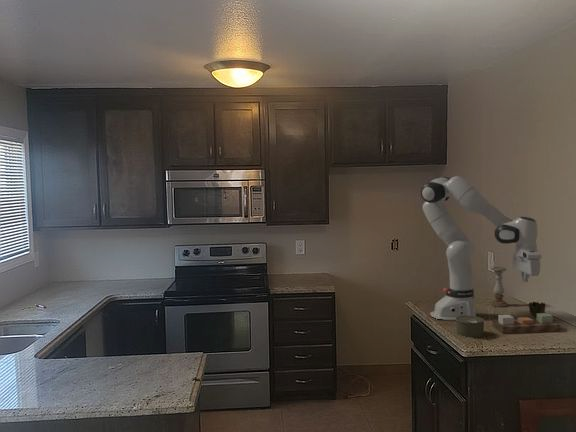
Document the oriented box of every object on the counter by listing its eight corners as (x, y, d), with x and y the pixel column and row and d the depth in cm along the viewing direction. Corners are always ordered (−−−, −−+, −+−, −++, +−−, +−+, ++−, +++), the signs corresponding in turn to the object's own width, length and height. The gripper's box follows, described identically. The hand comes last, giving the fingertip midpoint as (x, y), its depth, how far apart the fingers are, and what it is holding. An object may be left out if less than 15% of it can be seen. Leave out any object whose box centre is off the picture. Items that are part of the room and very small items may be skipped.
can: (476, 329, 248) (475, 314, 248) (489, 337, 236) (489, 321, 236) (451, 331, 247) (451, 316, 246) (463, 339, 235) (463, 323, 234)
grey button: (503, 325, 243) (502, 317, 243) (498, 322, 248) (498, 315, 248) (513, 325, 243) (513, 317, 243) (509, 322, 248) (508, 314, 248)
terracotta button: (522, 328, 244) (522, 320, 243) (517, 324, 249) (517, 317, 248) (533, 327, 244) (533, 320, 243) (528, 324, 249) (528, 317, 248)
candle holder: (496, 302, 296) (496, 266, 295) (511, 305, 289) (510, 268, 288) (487, 305, 291) (486, 268, 290) (501, 308, 284) (501, 270, 283)
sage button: (541, 323, 244) (541, 316, 243) (536, 320, 249) (536, 313, 248) (552, 323, 244) (552, 315, 244) (547, 320, 249) (547, 313, 249)
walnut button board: (503, 333, 240) (503, 327, 240) (492, 326, 252) (492, 320, 252) (560, 331, 241) (560, 324, 240) (546, 323, 253) (546, 317, 252)
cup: (526, 319, 261) (526, 303, 260) (532, 316, 266) (532, 300, 265) (542, 322, 255) (542, 305, 255) (547, 319, 260) (547, 303, 260)
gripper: (509, 248, 257) (508, 276, 258) (529, 255, 236) (528, 286, 238) (522, 248, 257) (521, 276, 258) (543, 255, 237) (542, 286, 238)
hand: (524, 281), depth 248 cm, fingers closed
